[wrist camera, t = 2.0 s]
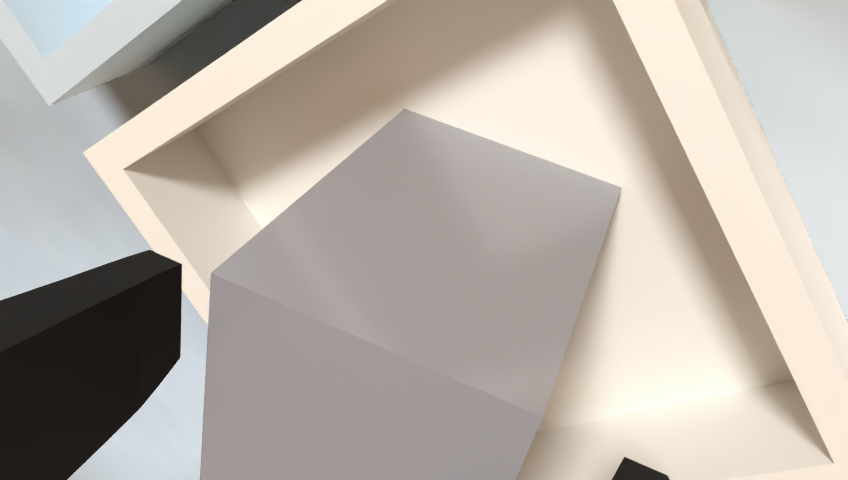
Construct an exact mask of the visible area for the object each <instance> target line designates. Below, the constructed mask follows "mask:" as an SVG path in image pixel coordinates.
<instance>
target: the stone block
mask: <svg viewBox="0 0 848 480" xmlns="http://www.w3.org/2000/svg"><path fill="white" fill-rule="evenodd" d="M621 188H622V187H619V186H616V185H614V184H611V183H608V182H605V181H603V180H600V179H597V178H594V177H592V176H589V175H586V174H583V173H580V172H578V171H575V170H572V169H569V168H567V167H564V166H561V165H558V164H556V163H553V162H550V161H547V160H545V159H542V158H539V157H536V156H534V155H531V154H528V153H525V152H522V151H520V150H517V149H514V148H511V147H509V146H506V145H503V144H500V143H498V142H495V141H492V140H489V139H487V138H484V137H481V136H478V135H476V134H473V133H470V132H467V131H465V130H462V129H459V128H456V127H453V126H451V125H448V124H445V123H442V122H440V121H437V120H434V119H431V118H429V117H426V116H423V115H420V114H418V113H415V112H412V111H409V110H407V109H403V110H402V111H401V112H400V113H399V114H397V115H396V116H395V117H394V118H393V119H391V120H390V121H389V122H388V123H387V124H386V125H384V126H383V127H382V128H381V129H380V130H379V131H377V132H376V133H375V134H374V135H373V136H371V137H370V138H369V139H368V140H367V141H366V142H364V143H363V144H362V145H361V146H360V147H359V148H357V149H356V150H355V151H354V152H353V153H351V154H350V155H349V156H348V157H347V158H346V159H344V160H343V161H342V162H341V163H340V164H339V165H337V166H336V167H335V168H334V169H333V170H331V171H330V172H329V173H328V174H327V175H326V176H324V177H323V178H322V179H321V180H320V181H318V182H317V183H316V184H315V185H314V186H313V187H311V188H310V189H309V190H308V191H307V192H306V193H304V194H303V195H302V196H301V197H300V198H298V199H297V200H296V201H295V202H294V203H293V204H291V205H290V206H289V207H288V208H287V209H286V210H284V211H283V212H282V213H281V214H280V215H278V216H277V217H276V218H275V219H274V220H273V221H271V222H270V223H269V224H268V225H267V226H266V227H264V228H263V229H262V230H261V231H260V232H258V233H257V234H256V235H255V236H254V237H253V238H251V239H250V240H249V241H248V242H247V243H246V244H244V245H243V246H242V247H241V248H240V249H238V250H237V251H236V252H235V253H234V254H233V255H231V256H230V257H229V258H228V259H227V260H225V261H224V262H223V263H222V264H221V265H220V266H218V267H217V268H216V269H215V270H214V271H213V272H211V280H210V299H209V318H208V337H207V357H206V376H205V395H204V414H203V433H202V452H201V471H200V480H516V478H517V476H518V473H519V471H520V469H521V467H522V464H523V462H524V460H525V457H526V455H527V453H528V451H529V448H530V446H531V444H532V441H533V439H534V437H535V434H536V432H537V430H538V428H539V425H540V423H541V421H542V418H543V416H544V413H545V410H546V407H547V404H548V401H549V398H550V395H551V392H552V390H553V387H554V384H555V381H556V378H557V375H558V372H559V369H560V366H561V363H562V360H563V357H564V355H565V352H566V349H567V346H568V343H569V340H570V337H571V334H572V331H573V328H574V325H575V322H576V320H577V317H578V314H579V311H580V308H581V305H582V302H583V299H584V296H585V293H586V290H587V287H588V284H589V282H590V279H591V276H592V273H593V270H594V267H595V264H596V261H597V258H598V255H599V252H600V249H601V247H602V244H603V241H604V238H605V235H606V232H607V229H608V226H609V223H610V220H611V217H612V214H613V212H614V209H615V206H616V203H617V200H618V197H619V194H620V191H621Z"/></svg>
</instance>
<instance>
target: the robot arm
mask: <svg viewBox="0 0 848 480" xmlns="http://www.w3.org/2000/svg"><path fill="white" fill-rule="evenodd" d="M181 293H182V264H181V263H179V262H176V261H174V260H172V259H169V258H167V257H165V256H163V255H160V254H158V253H156V252H153V251H151V250H148V251H145V252H141V253H138V254H135V255H132V256H129V257H126V258H123V259H120V260H117V261H114V262H111V263H108V264H105V265H102V266H100V267H97V268H94V269H91V270H88V271H85V272H82V273H80V274H77V275H74V276H71V277H68V278H65V279H63V280H60V281H57V282H54V283H51V284H48V285H45V286H42V287H39V288H36V289H33V290H30V291H27V292H25V293H22V294H19V295H16V296H13V297H10V298H7V299H4V300H1V301H0V480H67V479H68V478H69V477H70V476H71V475H72V474H73V473H74V472H75V471H76V470H77V469H78V468H79V467H80V466H81V465H83V464H84V463H85V462H86V461H87V460H88V459H89V458H90V457H91V456H92V455H93V454H94V453H95V452H96V451H97V450H98V449H99V448H100V447H101V446H102V445H103V444H104V443H105V442H106V441H107V440H108V439H109V438H110V437H111V436H112V435H113V434H114V433H115V432H116V431H117V430H118V429H120V428H121V427H122V426H123V425H124V424H125V423H126V422H127V421H128V420H129V419H130V418H131V417H132V416H133V415H134V414H135V413H136V412H137V411H138V410H139V409H140V408H141V406H142V405H143V404H144V403H145V401H146V400H147V399H148V398H149V397H150V395H151V394H152V393H153V392H154V391H155V389H156V388H157V387H158V386H159V384H160V383H161V382H162V381H163V379H164V378H165V377H166V375H167V374H168V373H169V371H170V370H171V369H172V368H173V366H174V365H175V364H176V362H177V361H178V360H179V358H180V343H181ZM612 480H670V479H669V477H668V475H665V474H663V473H661V472H659V471H656V470H654V469H652V468H649V467H647V466H645V465H642V464H640V463H638V462H636V461H633V460H631V459H629V458H626V457H624V458H623V460H622V462H621V464H620V465H619V467H618V469H617V471H616V473H615V475H614V476H613V478H612Z"/></svg>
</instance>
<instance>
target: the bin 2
mask: <svg viewBox="0 0 848 480" xmlns="http://www.w3.org/2000/svg"><path fill="white" fill-rule="evenodd" d="M403 109H407V110H409V111H412V112H415V113H418V114H420V115H423V116H426V117H429V118H431V119H434V120H437V121H440V122H442V123H445V124H448V125H451V126H453V127H456V128H459V129H462V130H465V131H467V132H470V133H473V134H476V135H478V136H481V137H484V138H487V139H489V140H492V141H495V142H498V143H500V144H503V145H506V146H509V147H511V148H514V149H517V150H520V151H522V152H525V153H528V154H531V155H534V156H536V157H539V158H542V159H545V160H547V161H550V162H553V163H556V164H558V165H561V166H564V167H567V168H569V169H572V170H575V171H578V172H580V173H583V174H586V175H589V176H592V177H594V178H597V179H600V180H603V181H605V182H608V183H611V184H614V185H616V186H619V187H622V188H621V191H620V194H619V197H618V200H617V203H616V206H615V209H614V212H613V214H612V217H611V220H610V223H609V226H608V229H607V232H606V235H605V238H604V241H603V244H602V247H601V249H600V252H599V255H598V258H597V261H596V264H595V267H594V270H593V273H592V276H591V279H590V282H589V284H588V287H587V290H586V293H585V296H584V299H583V302H582V305H581V308H580V311H579V314H578V317H577V320H576V322H575V325H574V328H573V331H572V334H571V337H570V340H569V343H568V346H567V349H566V352H565V355H564V357H563V360H562V363H561V366H560V369H559V372H558V375H557V378H556V381H555V384H554V387H553V390H552V392H551V395H550V398H549V401H548V404H547V407H546V410H545V413H544V416H543V418H542V421H541V423H540V425H539V428H538V430H537V432H536V434H535V437H534V439H533V441H532V444H531V446H530V448H529V451H528V453H527V455H526V457H525V460H524V462H523V464H522V467H521V469H520V471H519V473H518V476H517V478H516V480H612V478H613V476H614V475H615V473H616V471H617V469H618V467H619V465H620V464H621V462H622V460H623V458H624V457H626V458H629V459H631V460H633V461H636V462H638V463H640V464H642V465H645V466H647V467H649V468H652V469H654V470H656V471H659V472H661V473H663V474H665V475H668V477H669V479H670V480H848V321H847V319H846V317H845V315H844V312H843V310H842V308H841V306H840V303H839V301H838V299H837V297H836V294H835V292H834V290H833V287H832V285H831V283H830V281H829V278H828V276H827V274H826V272H825V269H824V267H823V265H822V263H821V260H820V258H819V256H818V254H817V251H816V249H815V247H814V245H813V242H812V240H811V238H810V235H809V233H808V231H807V229H806V226H805V224H804V222H803V220H802V217H801V215H800V213H799V211H798V208H797V206H796V204H795V202H794V199H793V197H792V195H791V193H790V190H789V188H788V186H787V184H786V181H785V179H784V177H783V174H782V172H781V170H780V168H779V165H778V163H777V161H776V159H775V156H774V154H773V152H772V150H771V147H770V145H769V143H768V141H767V138H766V136H765V134H764V132H763V129H762V127H761V125H760V123H759V120H758V118H757V116H756V113H755V111H754V109H753V107H752V104H751V102H750V100H749V98H748V95H747V93H746V91H745V89H744V86H743V84H742V82H741V80H740V77H739V75H738V73H737V71H736V68H735V66H734V64H733V62H732V59H731V57H730V55H729V52H728V50H727V48H726V46H725V43H724V41H723V39H722V37H721V34H720V32H719V30H718V28H717V25H716V23H715V21H714V19H713V16H712V14H711V12H710V10H709V7H708V5H707V3H706V1H705V0H302V1H300V2H299V3H297V4H296V5H294V6H293V7H292V8H290V9H289V10H287V11H286V12H284V13H283V14H282V15H280V16H279V17H277V18H276V19H274V20H273V21H272V22H270V23H269V24H267V25H266V26H264V27H263V28H261V29H260V30H259V31H257V32H256V33H254V34H253V35H251V36H250V37H249V38H247V39H246V40H244V41H243V42H241V43H240V44H238V45H237V46H236V47H234V48H233V49H231V50H230V51H228V52H227V53H226V54H224V55H223V56H221V57H220V58H218V59H217V60H215V61H214V62H213V63H211V64H210V65H208V66H207V67H205V68H204V69H203V70H201V71H200V72H198V73H197V74H195V75H194V76H192V77H191V78H190V79H188V80H187V81H185V82H184V83H182V84H181V85H180V86H178V87H177V88H175V89H174V90H172V91H171V92H169V93H168V94H167V95H165V96H164V97H162V98H161V99H159V100H158V101H157V102H155V103H154V104H152V105H151V106H149V107H148V108H146V109H145V110H144V111H142V112H141V113H139V114H138V115H136V116H135V117H134V118H132V119H131V120H129V121H128V122H126V123H125V124H123V125H122V126H121V127H119V128H118V129H116V130H115V131H113V132H112V133H111V134H109V135H108V136H106V137H105V138H103V139H102V140H100V141H99V142H98V143H96V144H95V145H93V146H92V147H90V148H89V149H88V150H86V151H85V152H83V154H84V155H85V156H86V158H87V159H88V160H89V162H90V163H91V165H92V166H93V167H94V169H95V170H96V171H97V173H98V174H99V176H100V177H101V178H102V180H103V181H104V183H105V184H106V185H107V187H108V188H109V189H110V191H111V192H112V194H113V195H114V196H115V198H116V199H117V201H118V202H119V203H120V205H121V206H122V207H123V209H124V210H125V212H126V213H127V214H128V216H129V217H130V218H131V220H132V221H133V223H134V224H135V225H136V227H137V228H138V230H139V231H140V232H141V234H142V235H143V236H144V238H145V239H146V241H147V242H148V243H149V245H150V246H151V247H152V249H153V250H154V252H156V253H158V254H160V255H163V256H165V257H167V258H169V259H172V260H174V261H176V262H179V263H181V264H182V290H183V292H184V293H185V294H186V296H187V297H188V299H189V300H190V301H191V303H192V304H193V306H194V307H195V308H196V310H197V311H198V312H199V314H200V315H201V317H202V318H203V319H204V321H205V322H206V323H207V325H208V318H209V299H210V280H211V272H213V271H214V270H215V269H216V268H217V267H218V266H220V265H221V264H222V263H223V262H224V261H225V260H227V259H228V258H229V257H230V256H231V255H233V254H234V253H235V252H236V251H237V250H238V249H240V248H241V247H242V246H243V245H244V244H246V243H247V242H248V241H249V240H250V239H251V238H253V237H254V236H255V235H256V234H257V233H258V232H260V231H261V230H262V229H263V228H264V227H266V226H267V225H268V224H269V223H270V222H271V221H273V220H274V219H275V218H276V217H277V216H278V215H280V214H281V213H282V212H283V211H284V210H286V209H287V208H288V207H289V206H290V205H291V204H293V203H294V202H295V201H296V200H297V199H298V198H300V197H301V196H302V195H303V194H304V193H306V192H307V191H308V190H309V189H310V188H311V187H313V186H314V185H315V184H316V183H317V182H318V181H320V180H321V179H322V178H323V177H324V176H326V175H327V174H328V173H329V172H330V171H331V170H333V169H334V168H335V167H336V166H337V165H339V164H340V163H341V162H342V161H343V160H344V159H346V158H347V157H348V156H349V155H350V154H351V153H353V152H354V151H355V150H356V149H357V148H359V147H360V146H361V145H362V144H363V143H364V142H366V141H367V140H368V139H369V138H370V137H371V136H373V135H374V134H375V133H376V132H377V131H379V130H380V129H381V128H382V127H383V126H384V125H386V124H387V123H388V122H389V121H390V120H391V119H393V118H394V117H395V116H396V115H397V114H399V113H400V112H401V111H402V110H403Z"/></svg>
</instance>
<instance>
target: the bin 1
mask: <svg viewBox="0 0 848 480" xmlns="http://www.w3.org/2000/svg"><path fill="white" fill-rule="evenodd" d="M233 1H234V0H0V39H1V40H2V42H3V43H4V44H5V46H6V47H7V49H8V50H9V51H10V53H11V54H12V55H13V57H14V58H15V60H16V61H17V62H18V64H19V65H20V66H21V68H22V69H23V71H24V72H25V73H26V75H27V76H28V78H29V79H30V80H31V82H32V83H33V84H34V86H35V87H36V89H37V90H38V91H39V93H40V94H41V95H42V97H43V98H44V100H45V101H46V102H47V104H48V105H49V106H50V105H53V104H55V103H57V102H60V101H62V100H65V99H67V98H69V97H72V96H74V95H77V94H79V93H81V92H84V91H86V90H89V89H91V88H94V87H96V86H98V85H101V84H103V83H106V82H108V81H110V80H113V79H115V78H118V77H120V76H123V75H125V74H127V73H130V72H132V71H135V70H137V69H139V68H142V67H144V66H147V65H148V64H150V63H151V62H152V61H154V60H155V59H156V58H158V57H159V56H160V55H162V54H163V53H164V52H166V51H167V50H169V49H170V48H171V47H173V46H174V45H175V44H177V43H178V42H179V41H181V40H182V39H183V38H185V37H186V36H187V35H189V34H190V33H191V32H193V31H194V30H195V29H197V28H198V27H199V26H201V25H202V24H203V23H205V22H206V21H207V20H209V19H210V18H211V17H213V16H214V15H215V14H217V13H218V12H219V11H221V10H222V9H223V8H225V7H226V6H227V5H229V4H230V3H231V2H233Z"/></svg>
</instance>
